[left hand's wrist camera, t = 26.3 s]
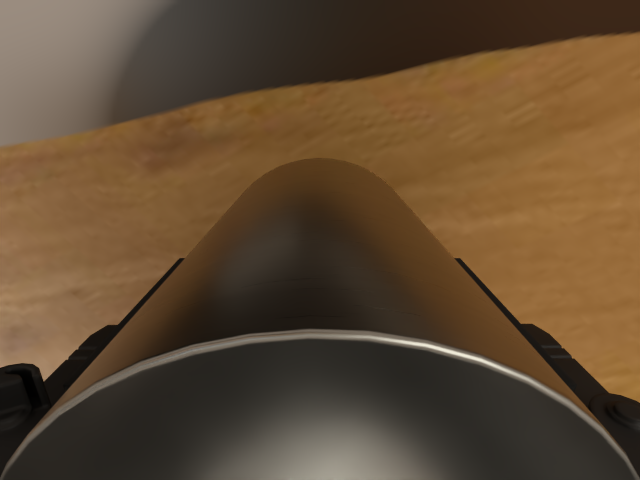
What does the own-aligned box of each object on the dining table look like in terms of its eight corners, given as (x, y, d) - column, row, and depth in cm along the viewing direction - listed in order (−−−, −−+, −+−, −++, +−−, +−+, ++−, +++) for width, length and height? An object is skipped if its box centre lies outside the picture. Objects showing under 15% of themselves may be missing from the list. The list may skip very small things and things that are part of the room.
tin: (193, 191, 16) (-188, 443, 4) (393, 131, 15) (677, 225, 3) (261, 353, 19) (162, 772, 7) (431, 311, 18) (648, 709, 6)
